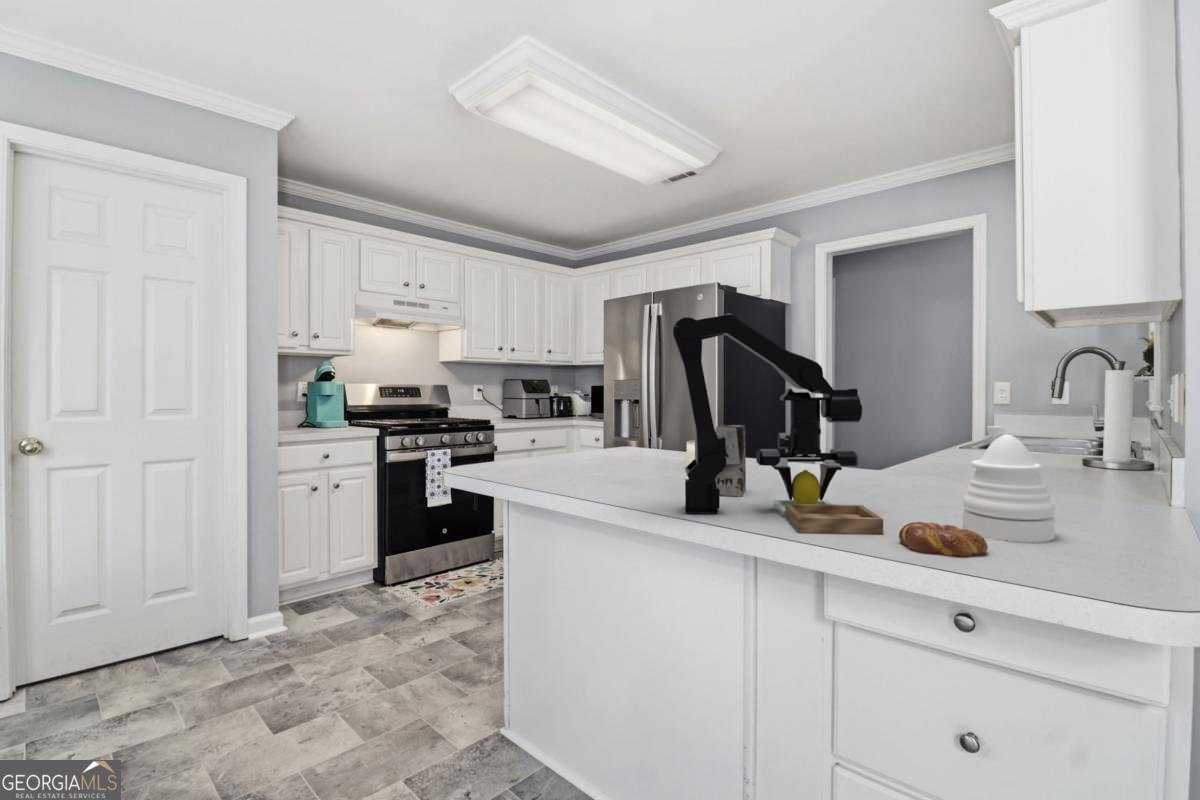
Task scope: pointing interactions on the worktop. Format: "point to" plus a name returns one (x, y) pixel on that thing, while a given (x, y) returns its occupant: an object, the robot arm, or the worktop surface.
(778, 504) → the dish
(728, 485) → the coffee box
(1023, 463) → the honey pot
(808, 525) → the tray
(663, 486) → the worktop surface
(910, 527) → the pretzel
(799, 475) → the lemon
